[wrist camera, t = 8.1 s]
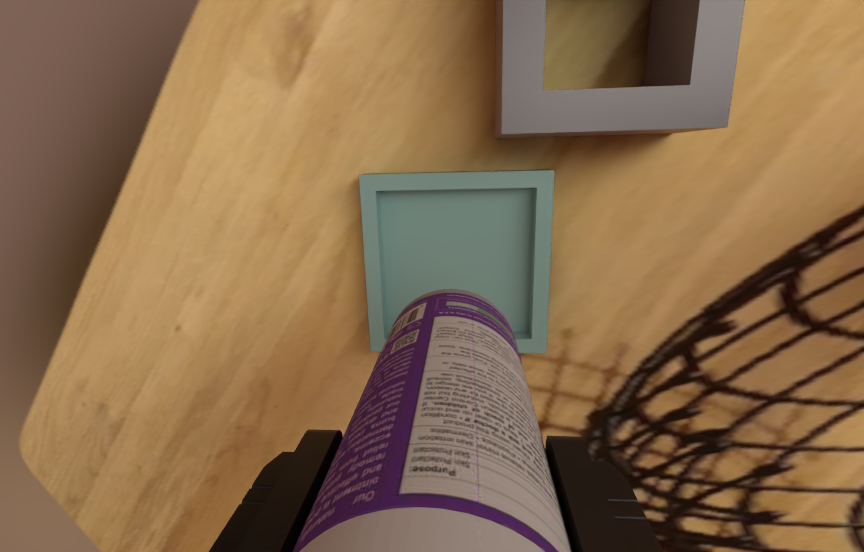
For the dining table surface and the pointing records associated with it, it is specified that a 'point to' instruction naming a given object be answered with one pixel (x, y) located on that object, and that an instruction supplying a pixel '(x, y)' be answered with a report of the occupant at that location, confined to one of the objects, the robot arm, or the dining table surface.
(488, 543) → the container
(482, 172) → the tray
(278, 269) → the dining table surface
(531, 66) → the bay
